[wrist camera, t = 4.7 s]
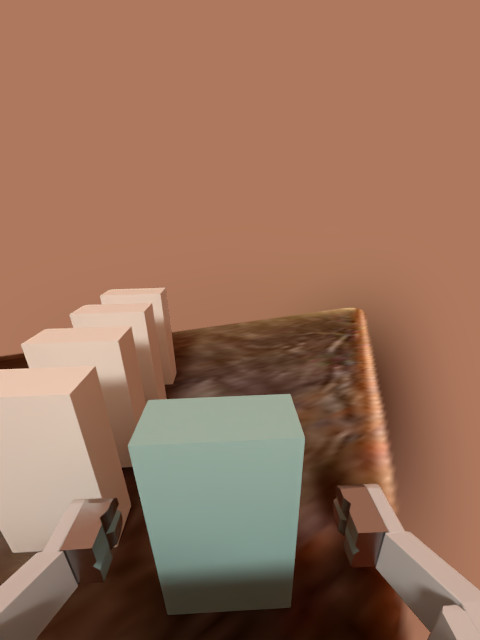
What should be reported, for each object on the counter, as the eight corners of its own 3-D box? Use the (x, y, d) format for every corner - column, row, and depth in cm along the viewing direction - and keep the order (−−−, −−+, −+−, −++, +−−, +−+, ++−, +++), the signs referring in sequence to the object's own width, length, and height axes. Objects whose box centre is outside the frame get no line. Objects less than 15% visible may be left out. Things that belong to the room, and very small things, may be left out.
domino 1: (98, 419, 21) (69, 314, 18) (109, 403, 23) (84, 304, 20) (161, 417, 21) (144, 311, 18) (167, 401, 23) (152, 302, 20)
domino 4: (120, 386, 25) (99, 295, 22) (127, 374, 27) (110, 289, 24) (172, 384, 26) (160, 293, 22) (176, 372, 27) (165, 287, 24)
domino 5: (167, 614, 11) (127, 445, 7) (176, 556, 13) (148, 399, 9) (290, 607, 11) (305, 437, 8) (282, 550, 13) (290, 394, 9)
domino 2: (66, 470, 17) (20, 344, 14) (82, 445, 19) (45, 329, 16) (144, 466, 17) (118, 340, 14) (153, 441, 19) (131, 326, 16)
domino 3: (12, 552, 13) (-72, 400, 10) (40, 510, 15) (-23, 370, 11) (116, 547, 13) (69, 394, 10) (131, 505, 15) (95, 365, 12)
